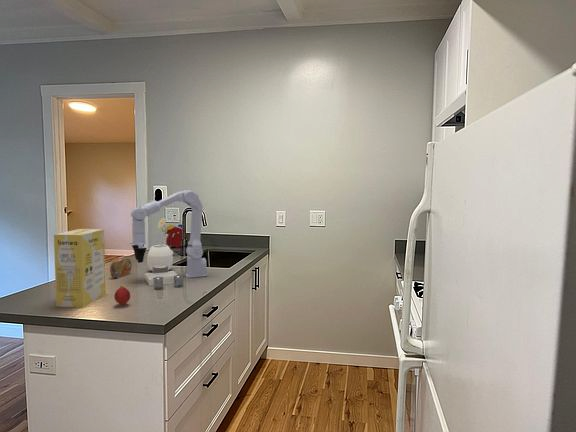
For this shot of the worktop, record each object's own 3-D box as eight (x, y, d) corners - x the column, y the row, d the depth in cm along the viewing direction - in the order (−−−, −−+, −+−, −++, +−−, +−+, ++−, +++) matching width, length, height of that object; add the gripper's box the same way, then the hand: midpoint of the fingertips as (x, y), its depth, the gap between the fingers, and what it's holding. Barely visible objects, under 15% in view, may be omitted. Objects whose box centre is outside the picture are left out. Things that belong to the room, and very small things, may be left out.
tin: (114, 279, 203) (114, 262, 202) (109, 279, 204) (108, 262, 203) (132, 273, 218) (131, 257, 217) (126, 272, 218) (126, 256, 218)
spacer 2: (181, 285, 195) (181, 274, 194) (183, 287, 191) (183, 276, 191) (173, 285, 193) (173, 275, 193) (175, 288, 189) (174, 277, 189)
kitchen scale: (173, 276, 211) (173, 264, 211) (180, 283, 198) (179, 269, 198) (144, 279, 205) (144, 266, 204) (149, 286, 192) (149, 272, 191)
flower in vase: (155, 254, 269) (154, 216, 267) (173, 254, 273) (173, 216, 271) (155, 258, 257) (154, 218, 255) (174, 257, 260) (173, 218, 258)
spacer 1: (162, 287, 191) (162, 276, 190) (163, 289, 187) (163, 278, 187) (153, 287, 189) (153, 277, 188) (154, 290, 185) (154, 279, 185)
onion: (117, 303, 165) (116, 283, 165) (132, 303, 166) (131, 283, 165) (112, 307, 160) (112, 287, 159) (127, 307, 160) (127, 287, 159)
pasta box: (81, 293, 178) (79, 228, 176) (105, 294, 178) (104, 229, 175) (56, 306, 160) (53, 234, 157) (83, 307, 160) (81, 235, 157)
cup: (176, 268, 229) (176, 244, 228) (167, 274, 216) (167, 248, 215) (153, 267, 230) (153, 243, 229) (142, 273, 217) (142, 247, 216)
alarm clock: (183, 245, 306) (183, 218, 304) (189, 247, 299) (188, 219, 298) (164, 247, 296) (164, 219, 295) (169, 249, 290) (169, 221, 288)
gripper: (128, 231, 203) (128, 258, 204) (131, 235, 190) (132, 264, 191) (143, 230, 206) (143, 257, 207) (147, 234, 193) (148, 263, 194)
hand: (139, 260), depth 199 cm, fingers open, 7 cm apart
